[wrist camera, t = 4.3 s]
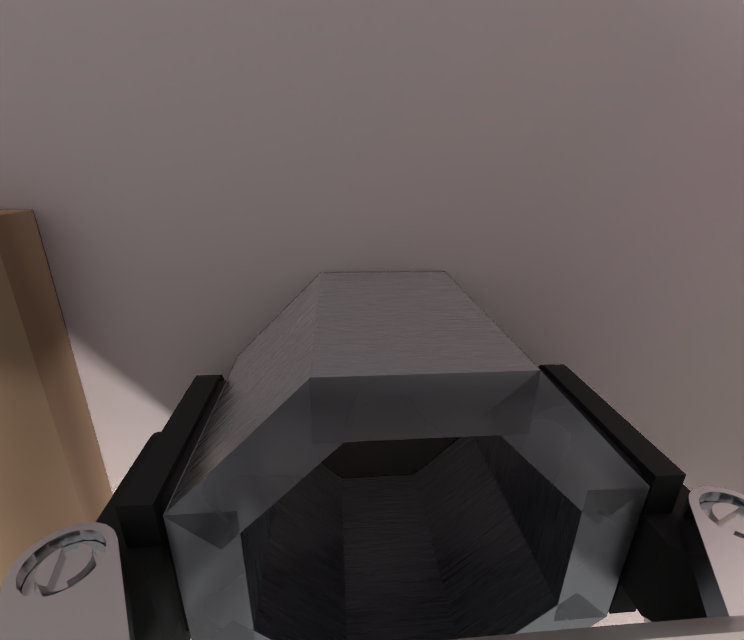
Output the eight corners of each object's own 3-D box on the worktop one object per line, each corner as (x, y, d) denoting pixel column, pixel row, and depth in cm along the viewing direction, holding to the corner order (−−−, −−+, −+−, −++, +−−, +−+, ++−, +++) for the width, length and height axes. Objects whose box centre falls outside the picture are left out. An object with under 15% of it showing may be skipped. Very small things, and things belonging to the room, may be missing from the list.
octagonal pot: (528, 270, 10) (690, 365, 6) (493, 496, 13) (583, 687, 8) (229, 273, 10) (131, 382, 5) (256, 509, 12) (210, 724, 8)
